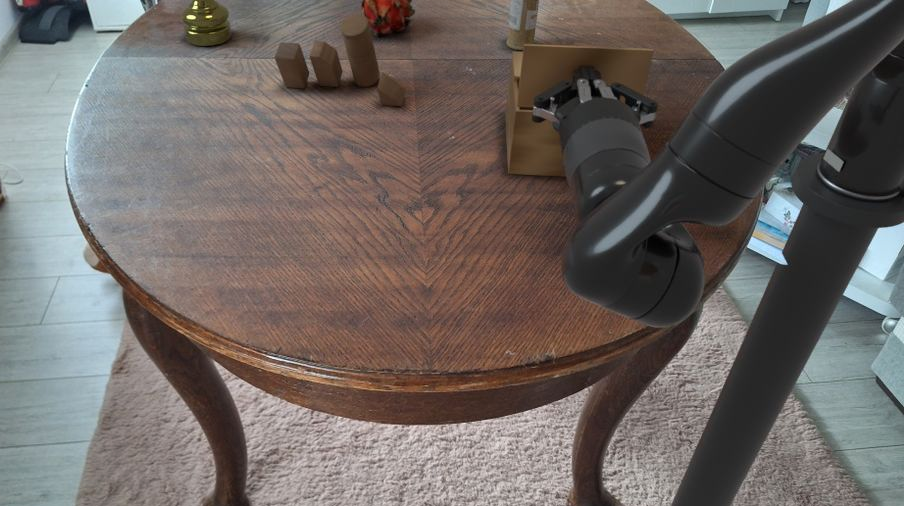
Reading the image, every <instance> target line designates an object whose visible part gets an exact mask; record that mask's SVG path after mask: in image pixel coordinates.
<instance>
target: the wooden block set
mask: <svg viewBox="0 0 904 506" xmlns="http://www.w3.org/2000/svg"><path fill="white" fill-rule="evenodd" d="M370 27H371V26H370V25H369V22H368V19H367V18H366V17H365V16H364V15H363V13H359V12H355V13H351V14H349V15H347V16H345V17H344V19H342V21H341V24H340V32H341V36H342V39H343V40H342V41H343V44H344V46H345V47H344V48H345V50H346V55H347V58H348V62H349V66H350V69H351V73H352V77H353V81H354V82H355V84H356V85H358V86H359V87H362V88H367V87H371V86H373V85H375V84H376V82H377V81H378V80H379V82H378V85H377V92H378V97H379V101H380V105H381V106H391V107H403V102H404V98H405V95H406V91H407V90H406V88H404V87H403V86H402V85H401V84H400V83H398V82H397V81H395V80H394V79H393V78H392V77H390V76H389V75H388V74H386V73H385V72H383V71H382V72H381V75H380V69H379V63H378V58H377V55H376V54H377V53H376V49H375V45H374V42H373V36H372V32H371V28H370ZM309 59H310V63H311V66H312V69H313V71H314V75H315V78H316V80H317V84H318V86H321V87H322V86H323V87H333V88H338V87H339V86H340V82H341V78H342V76H343V72H344V71H343V68H342V65H341V62H340V57H339V54H338V50H337V48H335V47H334V46H332V45H331V44H329V43H328V42H326V41H324V40H314V41H313V44H312V47H311V51H310V53H309ZM274 61H275V63H276V66H277V69H278V71H279V73H280V76H281V79H282V81H283V84H284V86H285V87H286V88H292V89H293V88H294V89H305V88H306V85H307V82H308V79H309V77H310V70H309V67H308V64H307V61H306V59H305V56H304V52H303V50H302V46H301V44H300V43H295V42H282V41H281V42H279V44H278V47H277V50H276V52H275V55H274ZM379 77H380V78H379Z"/></svg>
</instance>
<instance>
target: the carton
mask: <svg viewBox="0 0 904 506" xmlns="http://www.w3.org/2000/svg"><path fill="white" fill-rule="evenodd" d="M522 56H523V51H514V50H513V51H512V54H511V59H510V66H509V75H508V85H507V95H506V102H505V103H506V104H505V113H504V118H505V121H504V122H505V139H506V140H505V141H506V156H507V157H506V158H507V159H506V160H507V174H508V175H521V176H522V175H523V176H524V175H525V176H543V177H563V178H566V174H565V172H564V169H563V155H562V149H561V143H560V137H559V133H558V132H557V131H556V130H555V129H554V128H553V125H552V123H553V122H552V121H549V120H547V119H546V120H545V121H543V122H541V123H535V122H533V121H532V111H533V107H517V98H518V90H519V81H520V73H521V64H522Z"/></svg>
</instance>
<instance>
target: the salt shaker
mask: <svg viewBox="0 0 904 506" xmlns="http://www.w3.org/2000/svg"><path fill="white" fill-rule="evenodd" d="M180 14H181V15H180V16H181V19H182V21H183V23H184V25H183V30H184V34H185V39H186V41H187V42H188V43H189V44H192V45H194V46H199V47H212V46H218V45H221V44H224V43H226V42H228V41H229V40H230V39H231V38H232V29H231V22H230V21H229V20H228V19H229V14H230V13H229V10H228V7H226V6H225V5H224V4H222V3H219V2H218V0H191V1H190V2H189V3H188V5H187V6H185V8H183V9H182V11H181V13H180Z"/></svg>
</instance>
